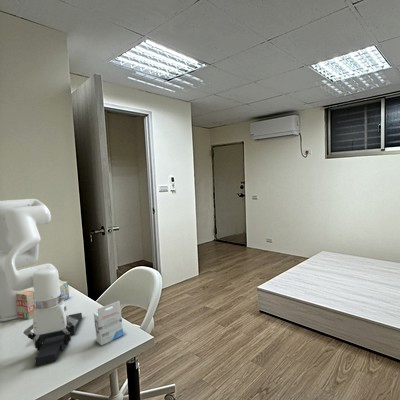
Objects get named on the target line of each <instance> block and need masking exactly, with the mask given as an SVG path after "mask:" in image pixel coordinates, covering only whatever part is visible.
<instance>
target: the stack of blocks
mask: <svg viewBox="0 0 400 400" xmlns="http://www.w3.org/2000/svg"><path fill="white" fill-rule="evenodd" d="M59 283H60V292H61V295H62V296H66V299H65V300H67V299H70V289H69V282H68V281H64V280H59ZM16 299H17V300H16V302H17V309H18V318H17V319H24V320H30V319H33V314H34V309H35V307H36V302H35V294H34V287H31V288H28V289H25V290H23V291H20V292H18V293H16ZM65 300H62V301H64V302H65Z"/></svg>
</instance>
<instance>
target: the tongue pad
mask: <svg viewBox="0 0 400 400" xmlns="http://www.w3.org/2000/svg"><path fill="white" fill-rule="evenodd" d="M65 347H66V345H65V338H64V335H61V336H56V337H52V338H47V339H45V340H44V342H42V345H41V347H40V348H39V351H38V353H37V355H36V357H34V361H35V366H36V367H39V366H42V365H47V364H51V363H54V362H56V361H57V359H58V358H59V355H60V354H61V353H63V351H64V349H65Z"/></svg>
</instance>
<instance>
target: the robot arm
mask: <svg viewBox="0 0 400 400" xmlns="http://www.w3.org/2000/svg"><path fill="white" fill-rule="evenodd" d="M51 220H52V214H51V211H50V209H49V208H48V206H47V205H45V204H44V203H43V202H42V201H41V200H39V199H37V198H24V199H23V198H22V199H6V200H0V322H9V321H13V320H16V319H19V318H18V309H17V302H16V300H17V299H16V293H18V292H20V291H23V290H25V289H28V288H31V287H34V294H35V302H36V307H35V309H34V314H33V317H32V324H31V325H29V326H28V327H27V328H25V330H24V331H22V332H23V335H25V336H26V337H27V338H28V339H30V340H32V342H34V347H35V349H36V352H38V353H39V348H40V347H41V345H42V344H43V342H42V337H40V335H41V334H46V333H51V332H55V331H60V330H62V331H63V332H64V333H65V335H64V338H65V346H68V345H69V343H70V341H71V340H72V336H71V334H70V332H71V331H72V330H73V328H74V327H75V325H76V324H77V322H78V319H75V318H72V317H69V316H68V315H69V312H68V308H67V305H66V302H65V299H66V296H62V295H61V292H60V283H59V281H60V275H59V271H58V268H56V266H55V265H53V264H52V263H51V262H50V263H49V262H48V263H43V264H38V265H35V264H36V263H38V261H39V255H40V243H41V241H42V238H41V235H40V233H39V229H38V227H37V226H42V225H43V226H44V225H47V224H49V223H50V222H51ZM32 265H34V266H32ZM28 266H30V267H28ZM23 267H26V268H23ZM20 268H22V269H20ZM62 300H64V301H62ZM66 300H67V299H66ZM69 322H71V323H72V325H71V326H70V327H69V326H68V325H67V324H68V323H69ZM32 330H33V332H32Z"/></svg>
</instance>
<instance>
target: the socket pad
mask: <svg viewBox="0 0 400 400" xmlns="http://www.w3.org/2000/svg"><path fill="white" fill-rule="evenodd" d="M68 316H69V317H72V318H75V319H78V322H77V324H76V325H75V327H74V328H73V330H72V331H71V332H70V334H71V337H72V336H75V334H76V332H77V330H78V328H79V326H80V324H81V321H82V319H83V313H82V312H77V313H72V314H68ZM67 325H68V326H69V327H70V326H71V325H72V323H71V322H69V323H68V324H67ZM61 335H65V333H64V332H63V331H62V330H60V331H55V332H51V333H46V334H41V335H40V337H42V343H43V342H44V340H45V339H47V338H52V337H56V336H61Z"/></svg>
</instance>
